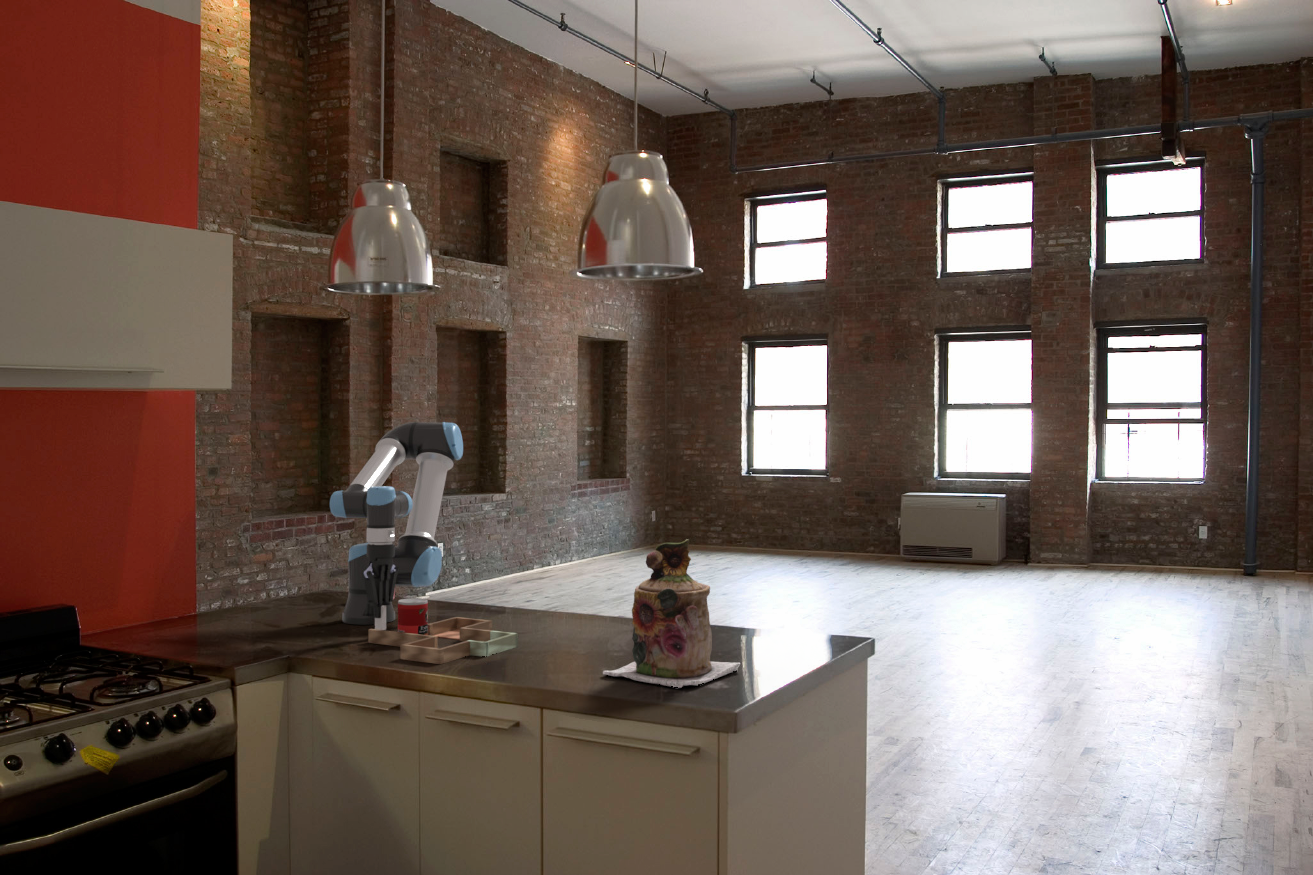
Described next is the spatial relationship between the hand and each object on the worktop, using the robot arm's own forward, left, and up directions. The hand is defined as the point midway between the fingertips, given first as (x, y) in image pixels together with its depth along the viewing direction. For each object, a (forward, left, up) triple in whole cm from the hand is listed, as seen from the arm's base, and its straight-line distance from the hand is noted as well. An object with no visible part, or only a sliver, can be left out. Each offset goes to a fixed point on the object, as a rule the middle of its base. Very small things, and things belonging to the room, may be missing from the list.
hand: (380, 629), depth 301 cm
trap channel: (+20, 0, -2) cm, 20 cm away
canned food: (+11, 0, -2) cm, 11 cm away
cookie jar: (+90, -2, -3) cm, 90 cm away
